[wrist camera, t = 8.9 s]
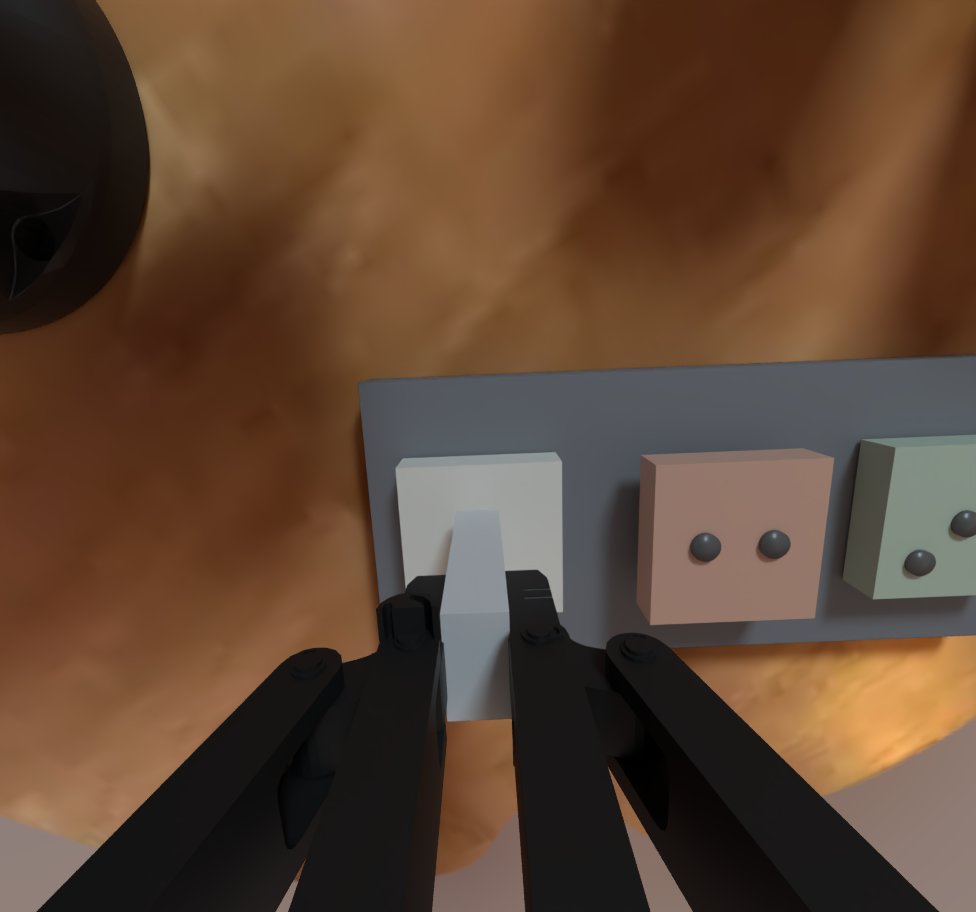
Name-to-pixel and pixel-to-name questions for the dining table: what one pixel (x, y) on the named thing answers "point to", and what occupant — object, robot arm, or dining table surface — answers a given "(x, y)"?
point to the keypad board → (670, 430)
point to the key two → (731, 535)
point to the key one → (483, 486)
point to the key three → (914, 518)
